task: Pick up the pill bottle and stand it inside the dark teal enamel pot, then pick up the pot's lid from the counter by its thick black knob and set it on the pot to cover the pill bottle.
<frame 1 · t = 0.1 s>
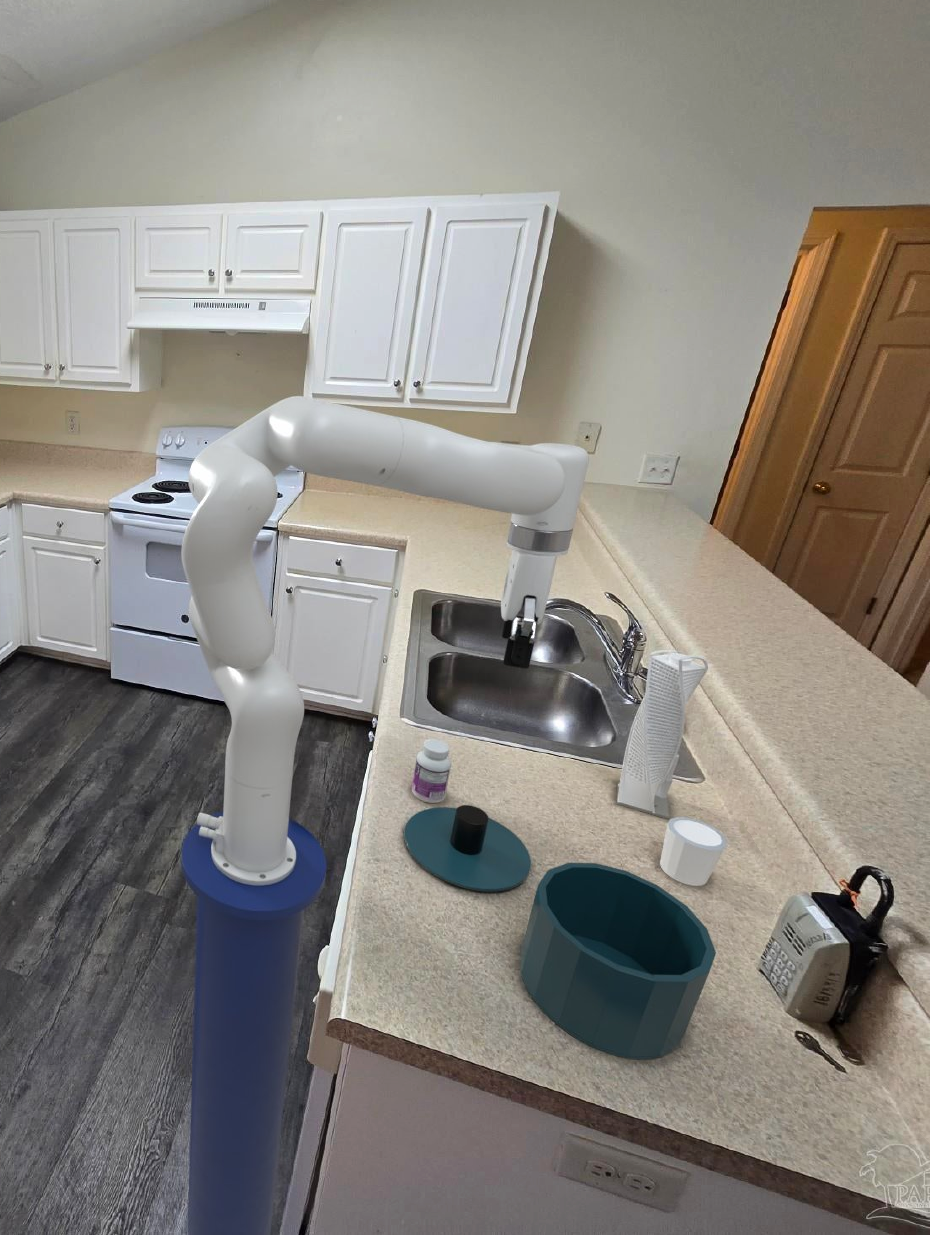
hand: (514, 651, 100), 29 cm above the worktop, tool pointing down, fingers open, 9 cm apart
lid: (465, 847, 103), point 1 cm above the worktop
pot: (597, 990, 81), on the worktop
pill bottle: (427, 795, 116), on the worktop
white cylinder: (682, 872, 99), on the worktop
skyscraper: (637, 802, 114), on the worktop
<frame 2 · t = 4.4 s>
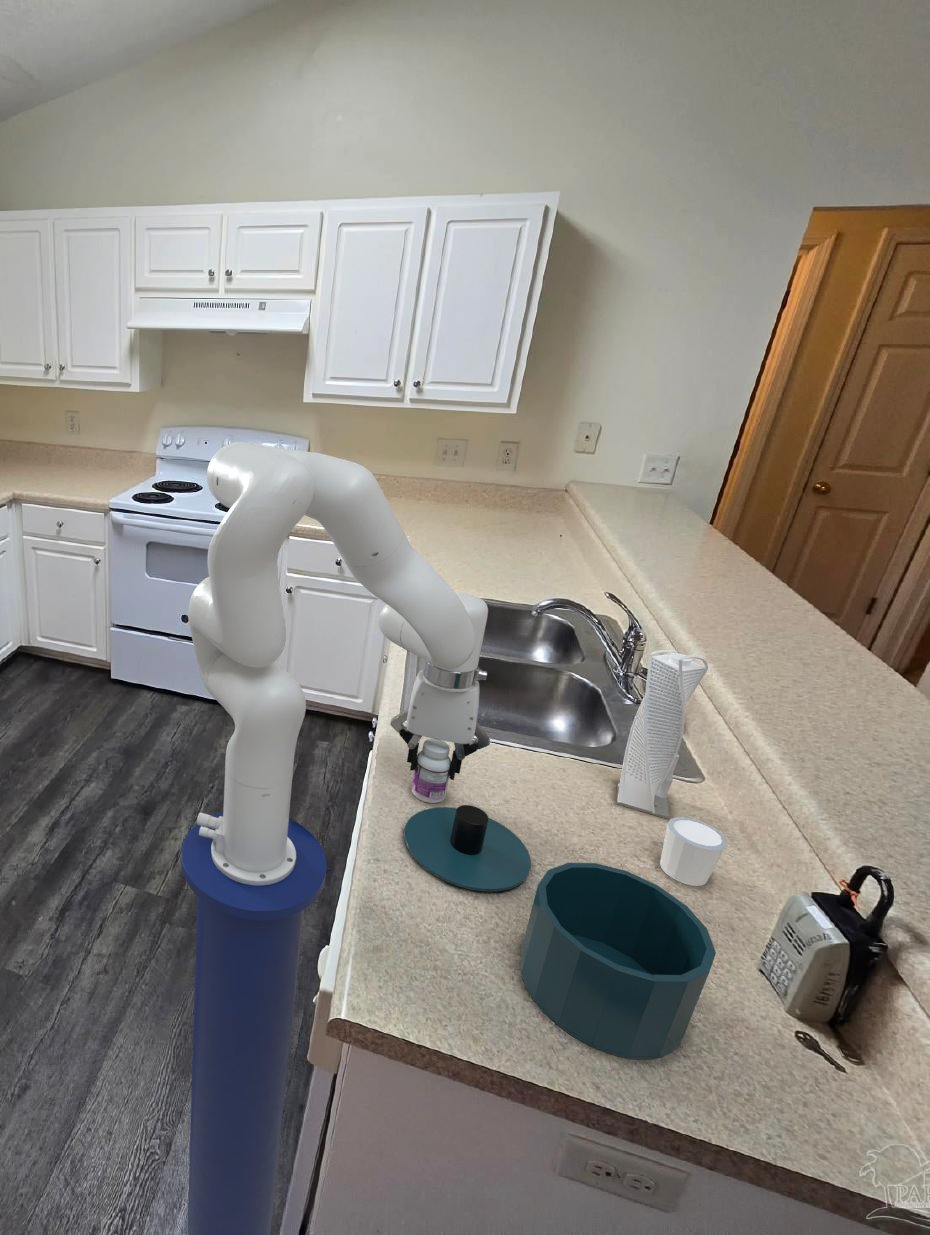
hand: (432, 769, 114), 5 cm above the worktop, tool pointing down, fingers closed on pill bottle, 5 cm apart
pill bottle: (427, 795, 116), on the worktop, touching gripper
everything else where it was.
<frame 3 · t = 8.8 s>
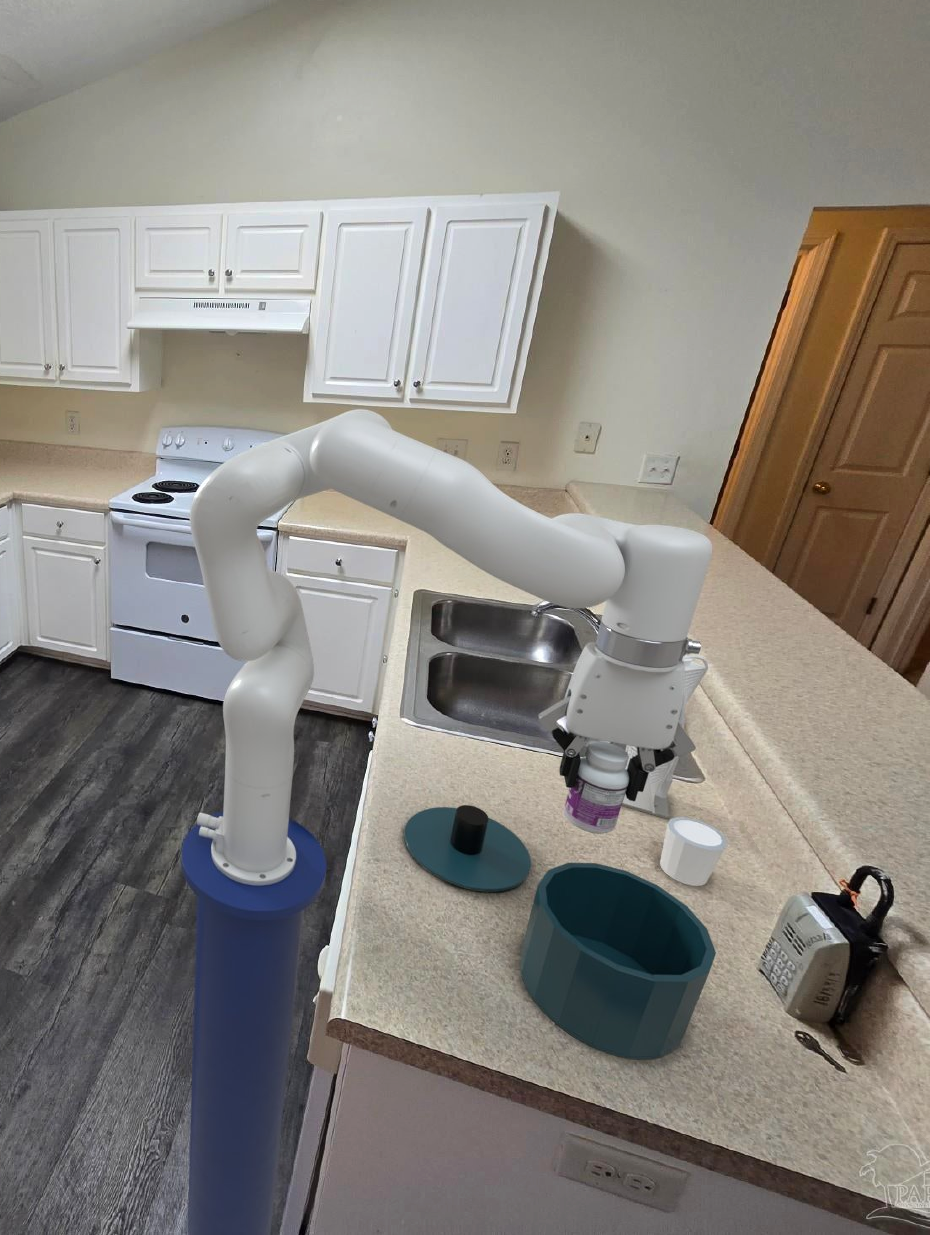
hand: (598, 786, 79), 24 cm above the worktop, tool pointing down, fingers closed on pill bottle, 5 cm apart
pill bottle: (587, 821, 81), point 18 cm above the worktop, touching gripper
everything else where it was.
when the fingers open (5 cm above the worktop, at t = 13.4 s): pill bottle stays where it is, resting on pot.
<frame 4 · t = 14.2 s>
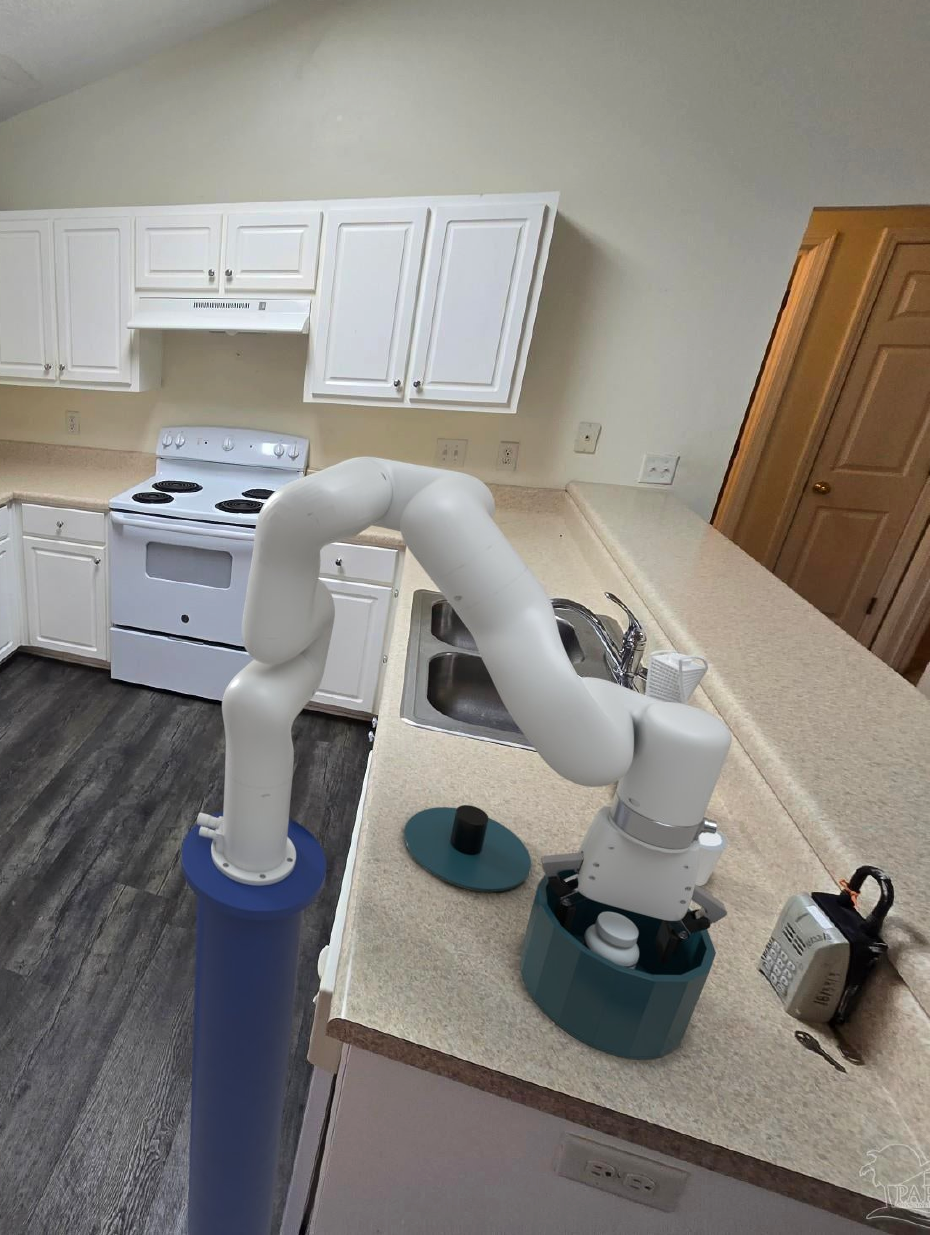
hand: (610, 939, 79), 8 cm above the worktop, tool pointing down, fingers open, 9 cm apart
pill bottle: (597, 987, 81), resting on pot
everything else where it was.
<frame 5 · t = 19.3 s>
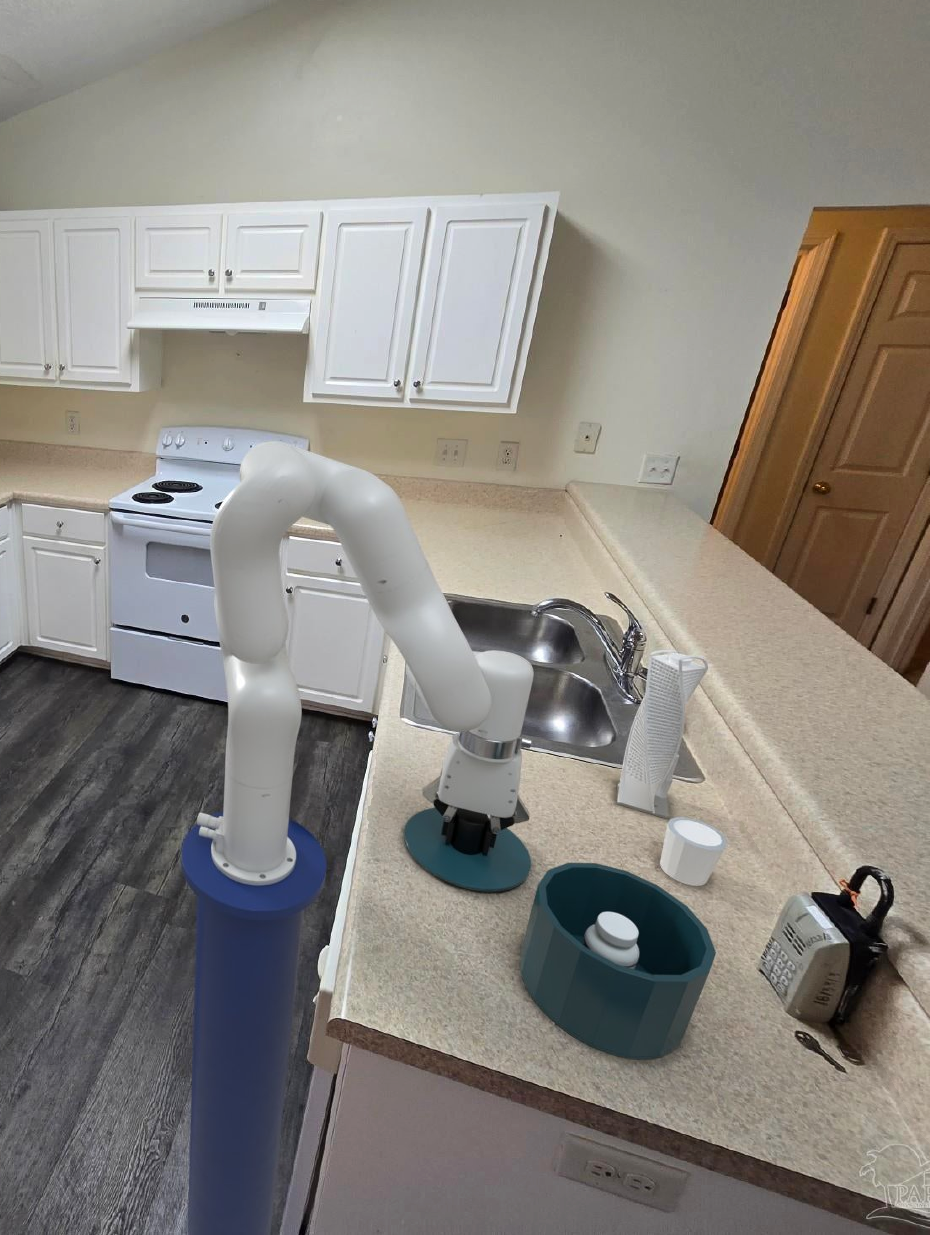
hand: (466, 842, 102), 1 cm above the worktop, tool pointing down, fingers closed on lid, 4 cm apart
lid: (465, 847, 103), point 1 cm above the worktop, touching gripper
everything else where it was.
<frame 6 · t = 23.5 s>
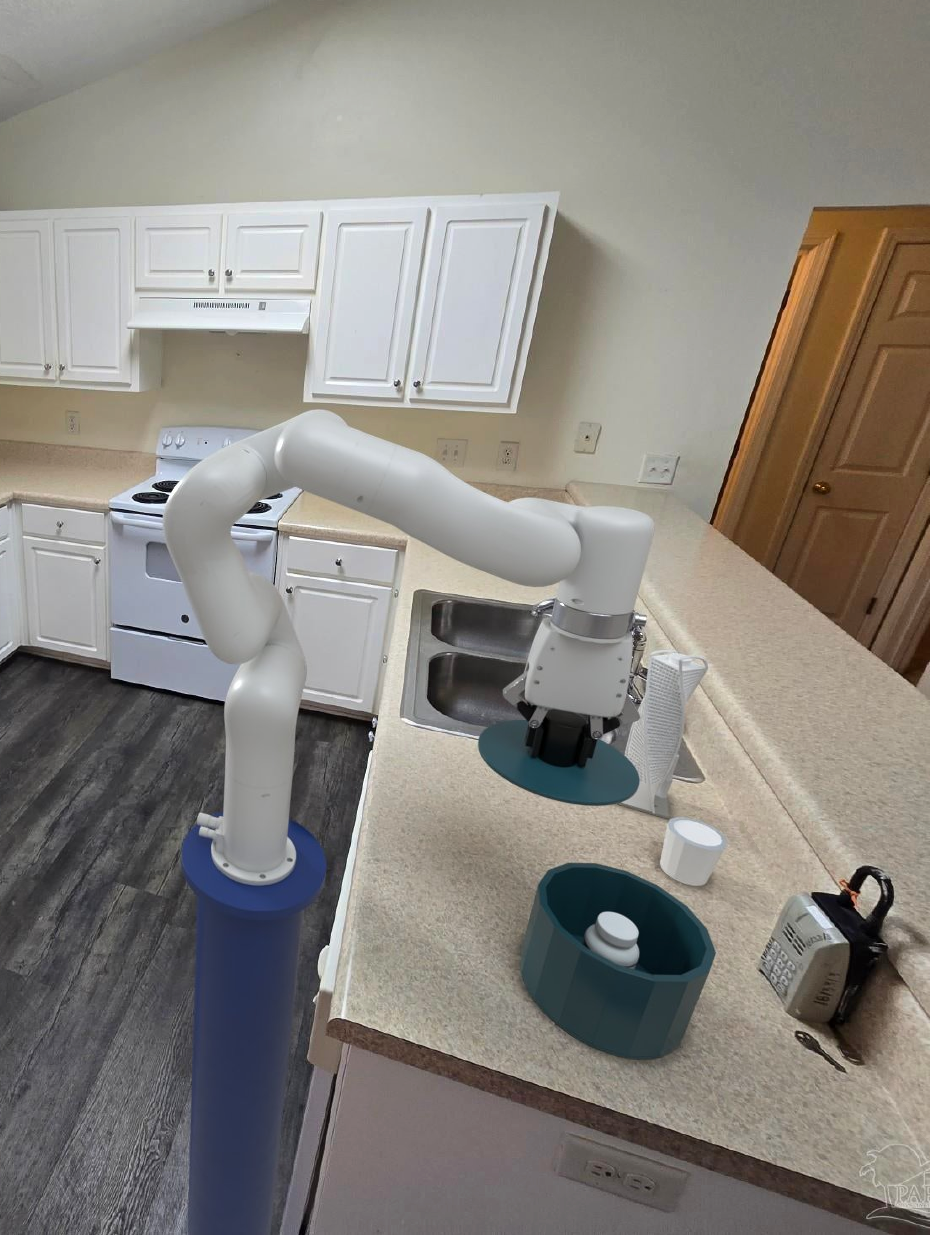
hand: (556, 754, 84), 24 cm above the worktop, tool pointing down, fingers closed on lid, 4 cm apart
lid: (554, 760, 85), point 23 cm above the worktop, touching gripper
everything else where it was.
when the fingers open (12 cm above the worktop, at t = 27.6 s): lid stays where it is, resting on pot.
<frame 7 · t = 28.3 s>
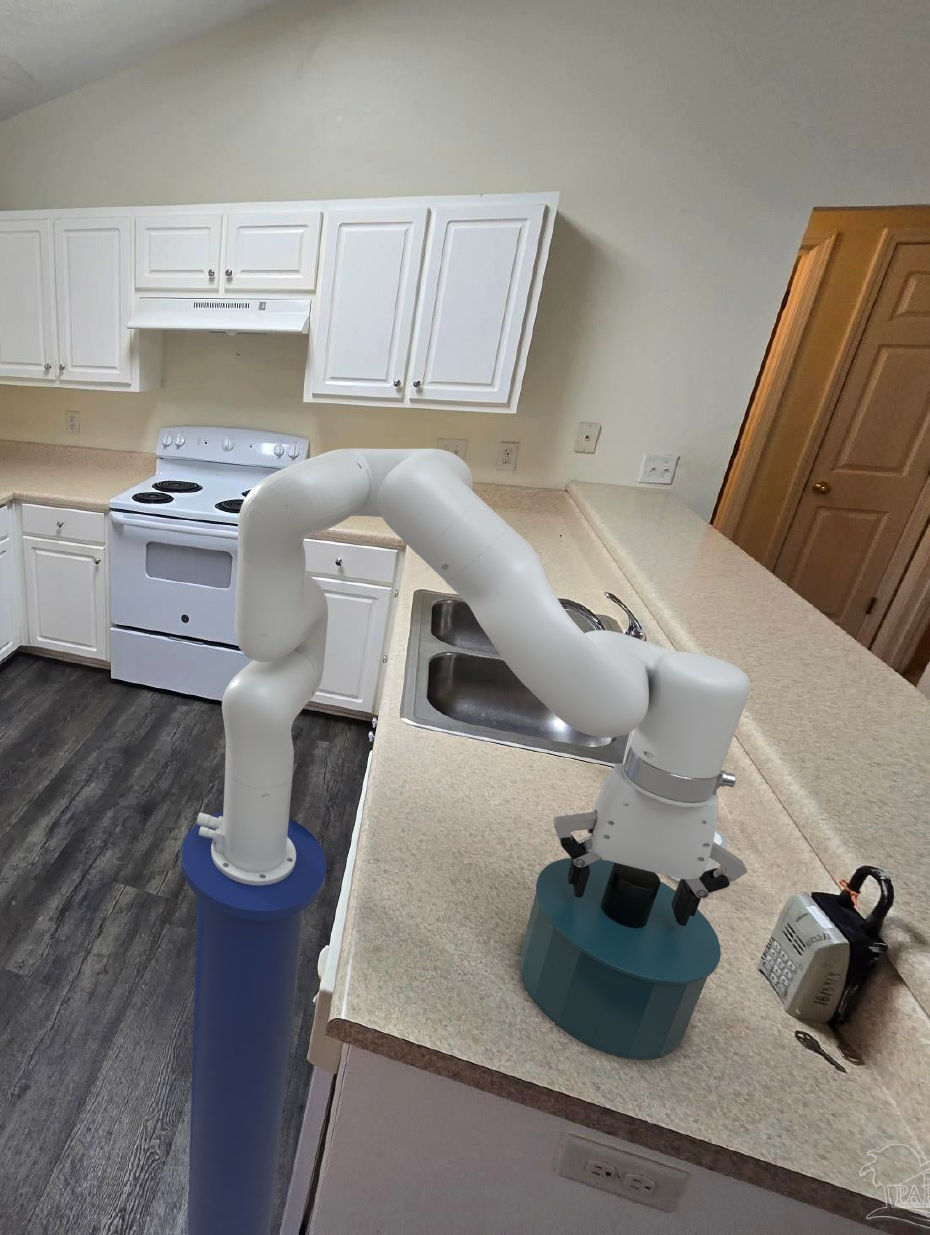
hand: (626, 902, 76), 13 cm above the worktop, tool pointing down, fingers open, 9 cm apart
lid: (622, 915, 77), point 11 cm above the worktop, touching pot
everything else where it was.
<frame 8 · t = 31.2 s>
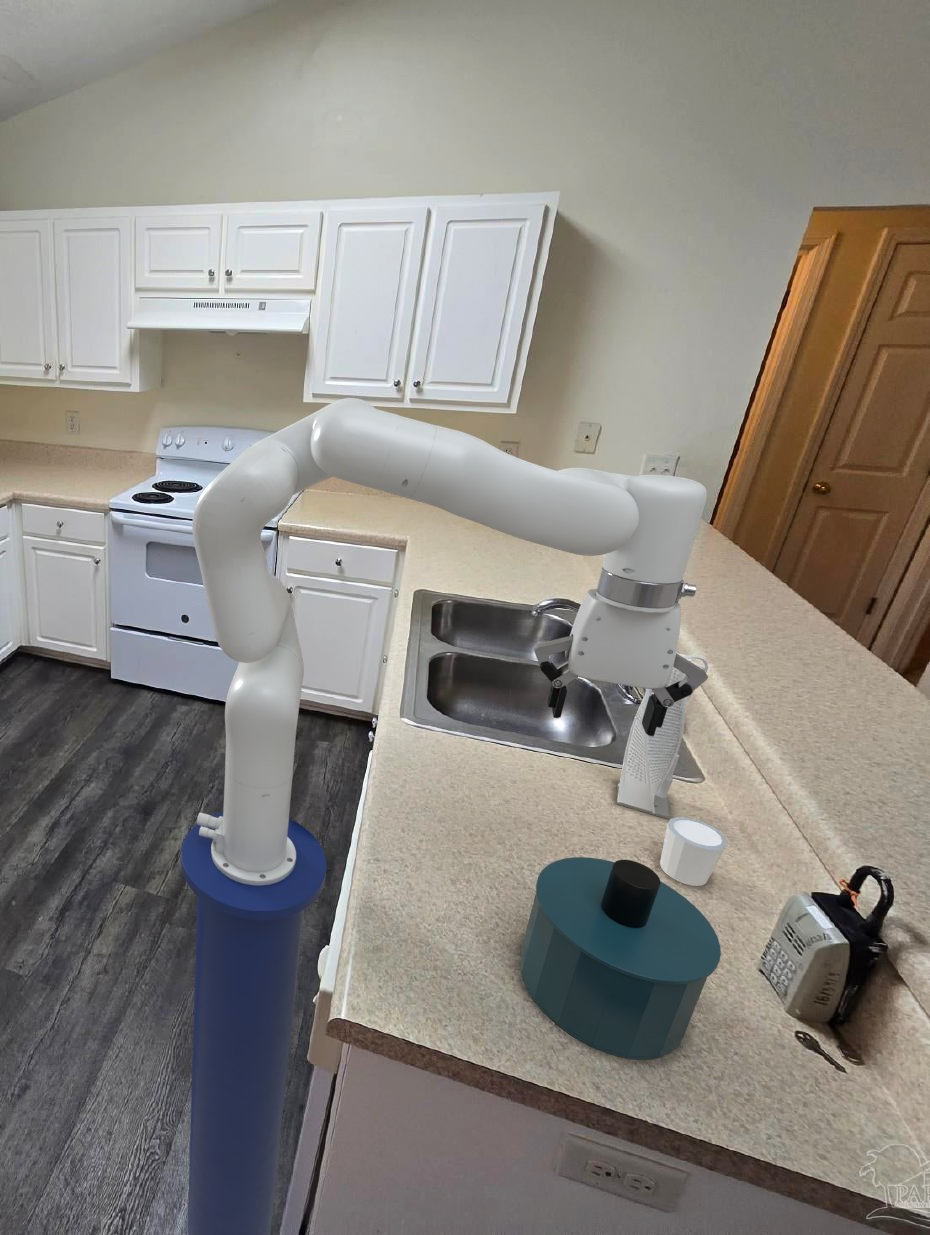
hand: (600, 721, 83), 28 cm above the worktop, tool pointing down, fingers open, 9 cm apart
nothing on the worktop moved.
at the end: pill bottle inside the target area in the pot (0.1 cm from its centre), point 0.3 cm above the pot's base; lid 0.0 cm off-centre on the pot, point 11.5 cm above the pot's base; lid tilted 0° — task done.
